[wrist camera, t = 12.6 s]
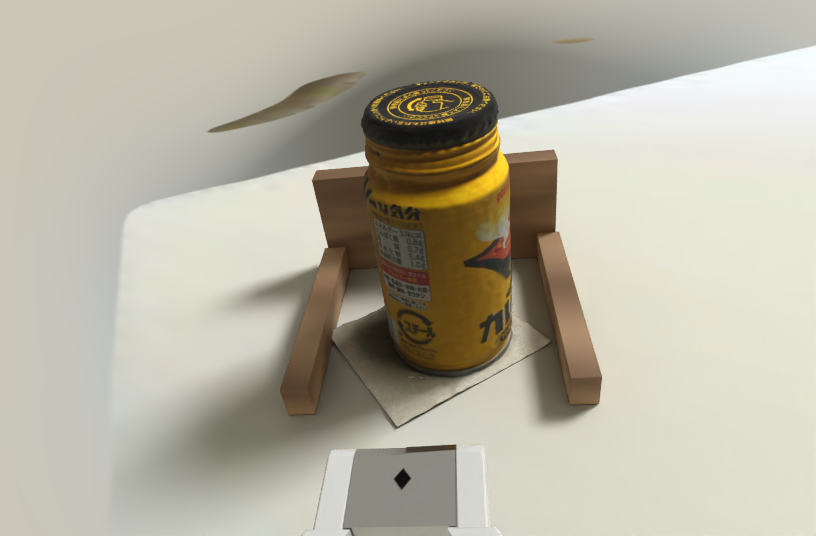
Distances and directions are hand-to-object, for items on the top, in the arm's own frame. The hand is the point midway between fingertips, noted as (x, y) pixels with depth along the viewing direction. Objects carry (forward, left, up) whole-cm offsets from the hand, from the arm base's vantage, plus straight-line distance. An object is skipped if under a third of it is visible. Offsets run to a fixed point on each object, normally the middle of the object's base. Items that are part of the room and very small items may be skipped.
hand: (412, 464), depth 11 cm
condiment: (-11, -9, -10) cm, 17 cm away
